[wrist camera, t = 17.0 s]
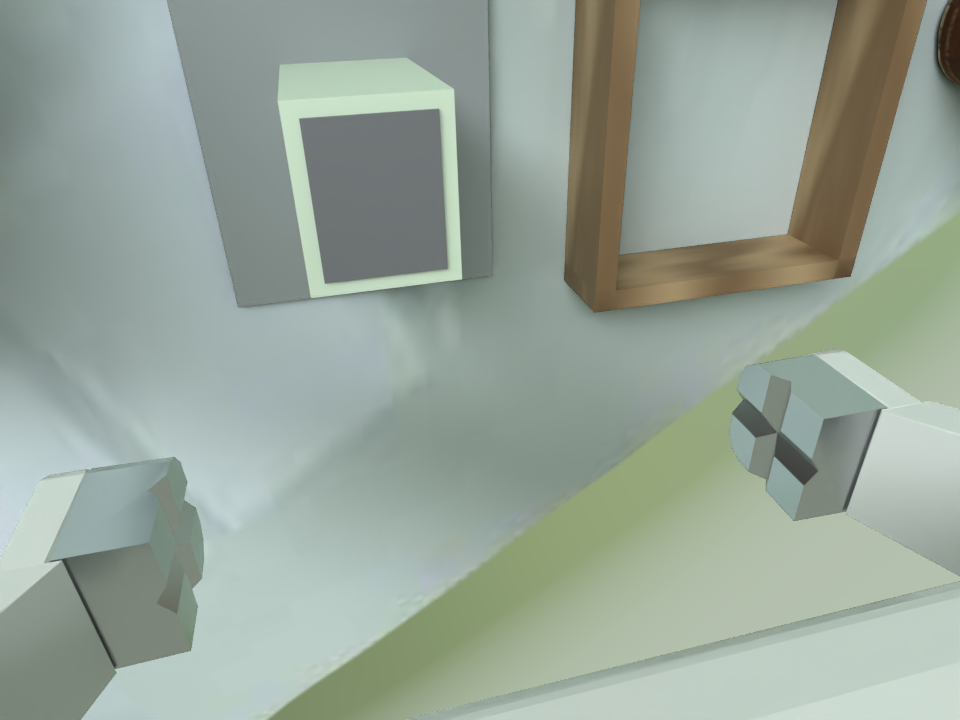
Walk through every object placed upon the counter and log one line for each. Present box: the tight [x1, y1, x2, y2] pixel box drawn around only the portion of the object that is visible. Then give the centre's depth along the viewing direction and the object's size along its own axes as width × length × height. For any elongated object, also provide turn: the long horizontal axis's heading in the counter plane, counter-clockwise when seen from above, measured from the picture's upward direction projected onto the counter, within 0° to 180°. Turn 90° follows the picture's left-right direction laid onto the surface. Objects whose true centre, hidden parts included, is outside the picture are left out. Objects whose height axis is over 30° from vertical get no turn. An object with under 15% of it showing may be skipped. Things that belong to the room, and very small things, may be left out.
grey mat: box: [167, 0, 493, 307], centre depth 28 cm, size 12×14×1 cm
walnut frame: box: [564, 0, 927, 313], centre depth 30 cm, size 14×16×4 cm
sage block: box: [278, 58, 462, 298], centre depth 24 cm, size 5×6×9 cm
